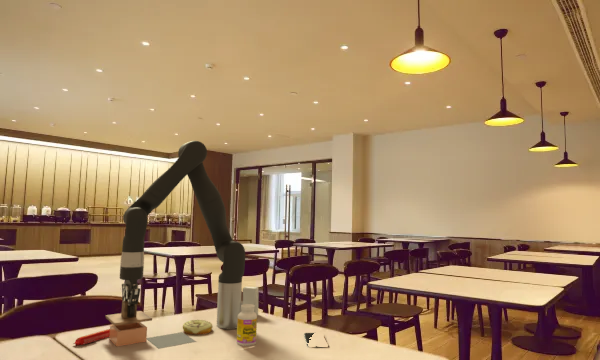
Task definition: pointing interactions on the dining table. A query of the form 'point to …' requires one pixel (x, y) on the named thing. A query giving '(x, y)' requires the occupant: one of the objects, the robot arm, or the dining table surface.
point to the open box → (128, 333)
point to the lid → (123, 319)
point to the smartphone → (307, 336)
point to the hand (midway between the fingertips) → (129, 315)
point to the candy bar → (92, 337)
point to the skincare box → (251, 297)
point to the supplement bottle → (247, 325)
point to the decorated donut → (197, 327)
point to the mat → (170, 340)
